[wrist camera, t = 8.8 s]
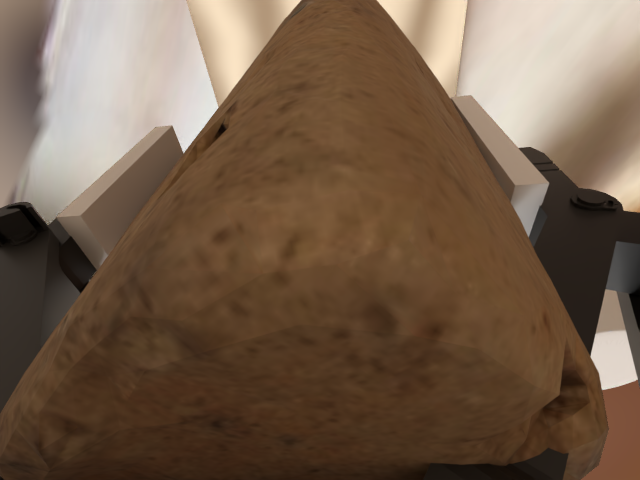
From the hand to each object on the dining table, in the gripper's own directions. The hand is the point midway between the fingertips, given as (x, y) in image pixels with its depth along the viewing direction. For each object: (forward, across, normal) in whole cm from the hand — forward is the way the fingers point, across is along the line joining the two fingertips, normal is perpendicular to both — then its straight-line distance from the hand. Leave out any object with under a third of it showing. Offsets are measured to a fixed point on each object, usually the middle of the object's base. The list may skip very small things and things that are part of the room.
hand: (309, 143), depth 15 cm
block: (+7, 0, 0) cm, 7 cm away
